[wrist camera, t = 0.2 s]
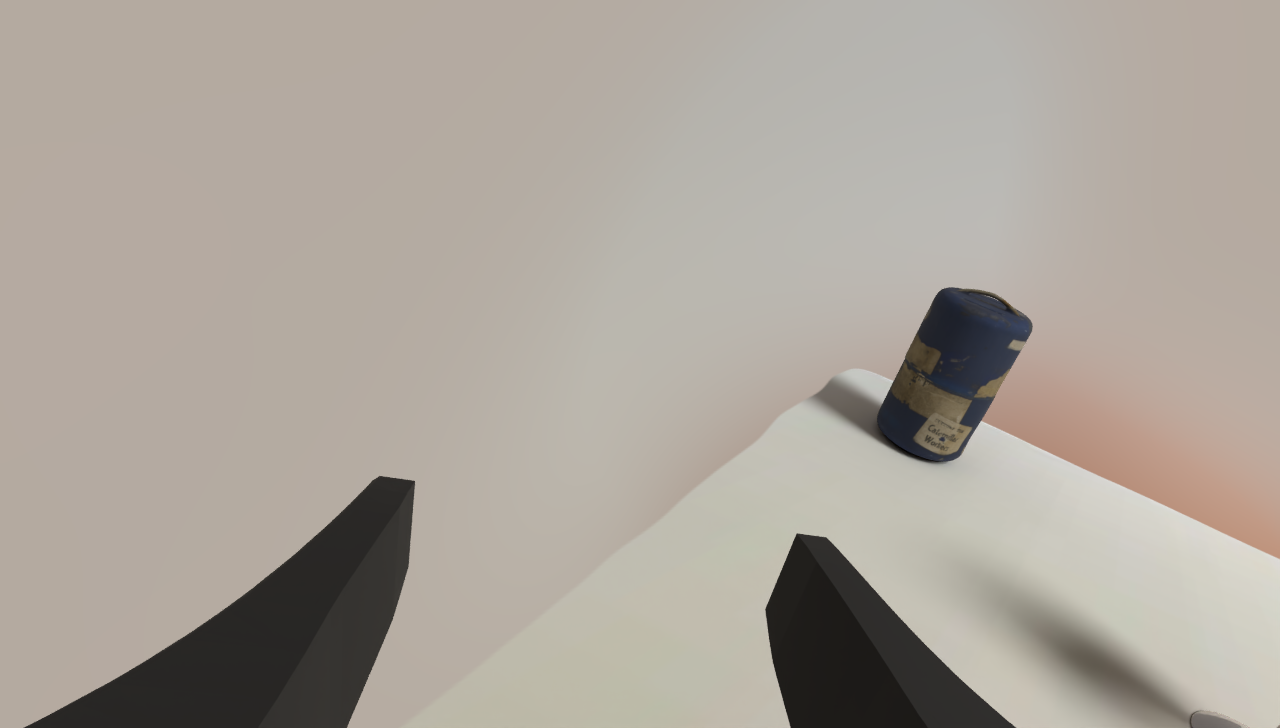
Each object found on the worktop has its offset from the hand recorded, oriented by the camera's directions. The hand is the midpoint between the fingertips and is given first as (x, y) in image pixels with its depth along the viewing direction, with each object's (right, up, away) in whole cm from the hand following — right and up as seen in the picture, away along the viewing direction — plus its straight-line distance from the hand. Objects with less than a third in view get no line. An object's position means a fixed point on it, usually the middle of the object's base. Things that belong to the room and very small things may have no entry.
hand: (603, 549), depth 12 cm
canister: (+31, -5, +60) cm, 68 cm away
